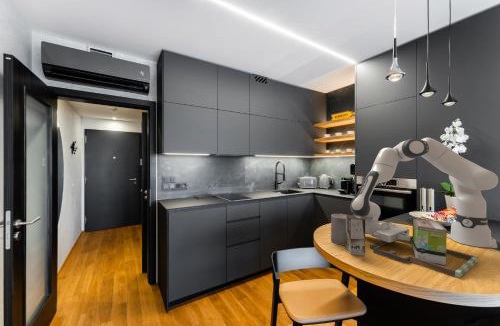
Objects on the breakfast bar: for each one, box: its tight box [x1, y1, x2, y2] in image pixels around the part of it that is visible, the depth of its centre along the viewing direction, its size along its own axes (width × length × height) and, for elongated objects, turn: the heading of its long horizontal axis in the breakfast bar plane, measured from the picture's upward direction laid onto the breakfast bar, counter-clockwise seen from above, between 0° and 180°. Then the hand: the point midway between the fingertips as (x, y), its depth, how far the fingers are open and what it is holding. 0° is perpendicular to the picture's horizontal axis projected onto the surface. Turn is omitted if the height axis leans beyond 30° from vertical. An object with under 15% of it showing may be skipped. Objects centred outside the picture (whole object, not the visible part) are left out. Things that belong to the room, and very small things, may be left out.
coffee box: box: [345, 214, 366, 256], centre depth 103 cm, size 9×6×16 cm
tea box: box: [411, 218, 448, 266], centre depth 97 cm, size 15×10×15 cm
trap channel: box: [369, 239, 479, 279], centre depth 98 cm, size 28×32×2 cm
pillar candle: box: [330, 212, 347, 246], centre depth 115 cm, size 10×10×15 cm
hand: (411, 238), depth 102 cm, fingers closed
